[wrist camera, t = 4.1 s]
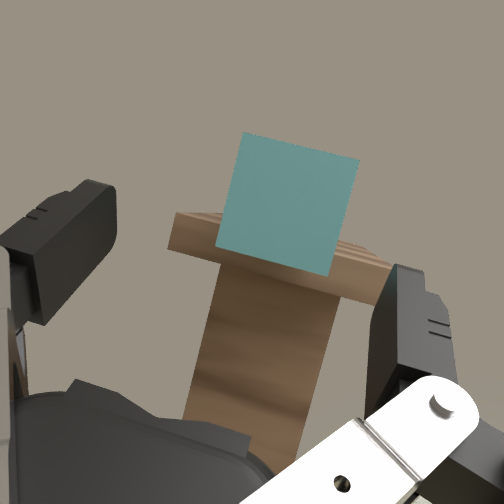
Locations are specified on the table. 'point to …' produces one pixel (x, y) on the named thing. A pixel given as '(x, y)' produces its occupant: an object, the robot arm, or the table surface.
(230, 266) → the walnut stand
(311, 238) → the teal bar
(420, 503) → the table surface
